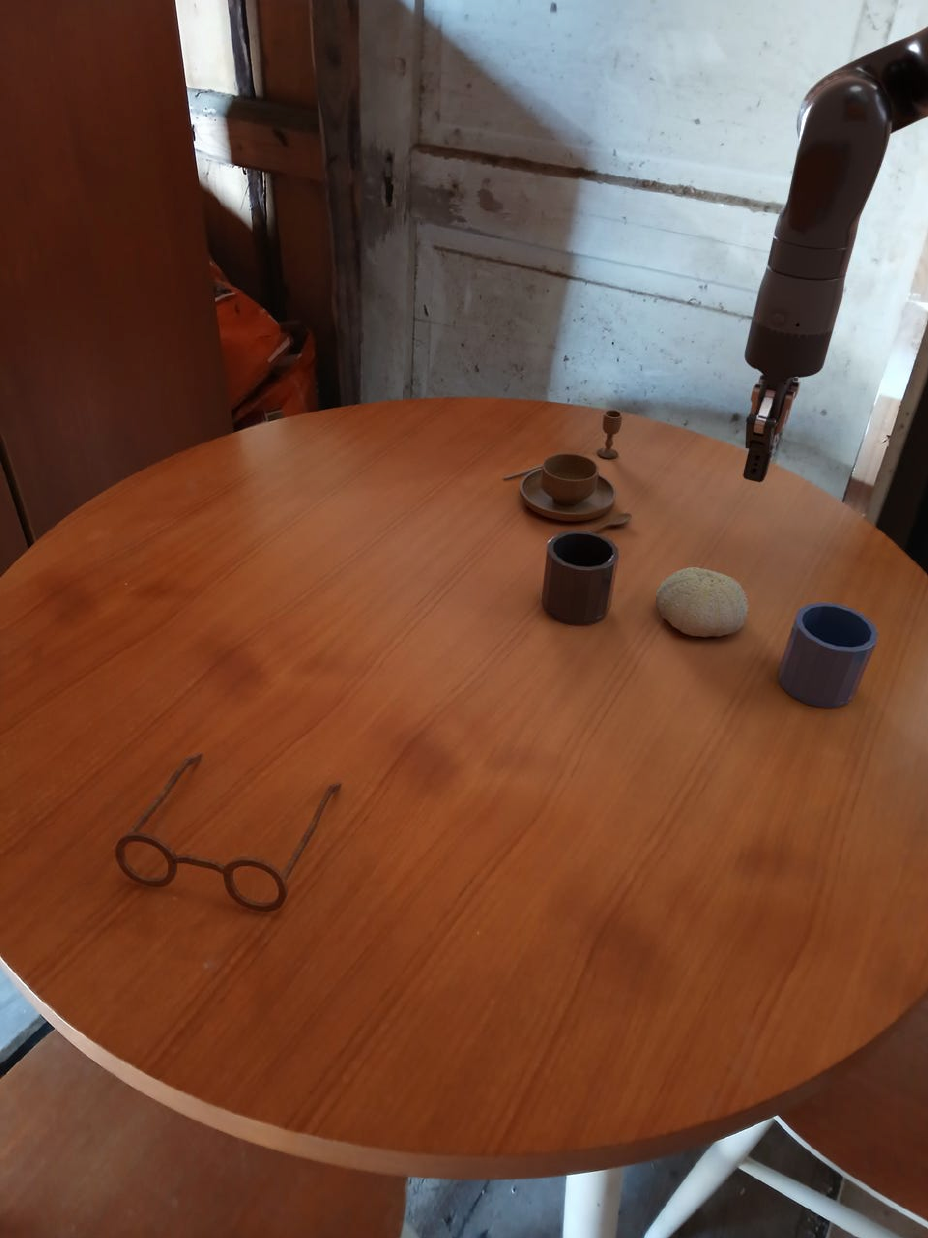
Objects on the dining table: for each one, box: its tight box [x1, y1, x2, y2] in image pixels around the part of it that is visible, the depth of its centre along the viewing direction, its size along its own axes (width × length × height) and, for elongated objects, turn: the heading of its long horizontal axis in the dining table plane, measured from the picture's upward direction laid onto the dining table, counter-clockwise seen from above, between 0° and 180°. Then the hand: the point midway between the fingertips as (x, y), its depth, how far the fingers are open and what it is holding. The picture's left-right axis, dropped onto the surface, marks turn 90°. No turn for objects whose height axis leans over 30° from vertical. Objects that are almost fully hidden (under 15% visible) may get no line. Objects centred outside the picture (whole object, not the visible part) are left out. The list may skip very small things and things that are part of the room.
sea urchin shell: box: [655, 566, 749, 638], centre depth 94 cm, size 9×8×8 cm
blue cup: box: [777, 601, 879, 709], centre depth 85 cm, size 7×7×7 cm
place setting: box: [502, 409, 632, 533], centre depth 113 cm, size 18×20×6 cm
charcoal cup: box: [541, 529, 620, 626], centre depth 94 cm, size 7×7×7 cm
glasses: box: [114, 752, 343, 913], centre depth 69 cm, size 13×13×5 cm
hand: (754, 477), depth 97 cm, fingers closed
